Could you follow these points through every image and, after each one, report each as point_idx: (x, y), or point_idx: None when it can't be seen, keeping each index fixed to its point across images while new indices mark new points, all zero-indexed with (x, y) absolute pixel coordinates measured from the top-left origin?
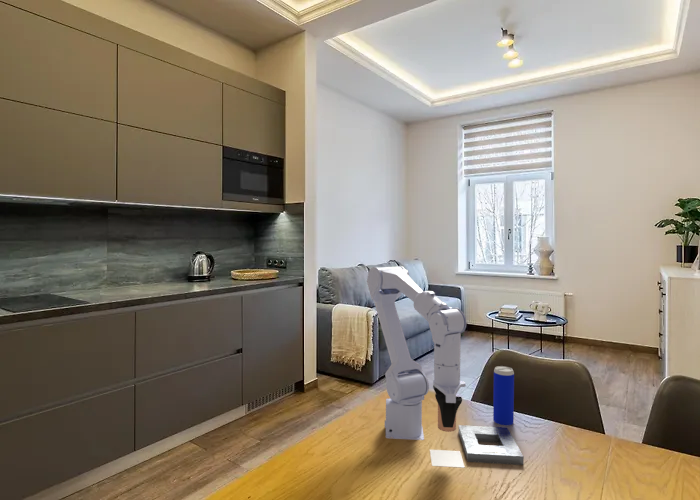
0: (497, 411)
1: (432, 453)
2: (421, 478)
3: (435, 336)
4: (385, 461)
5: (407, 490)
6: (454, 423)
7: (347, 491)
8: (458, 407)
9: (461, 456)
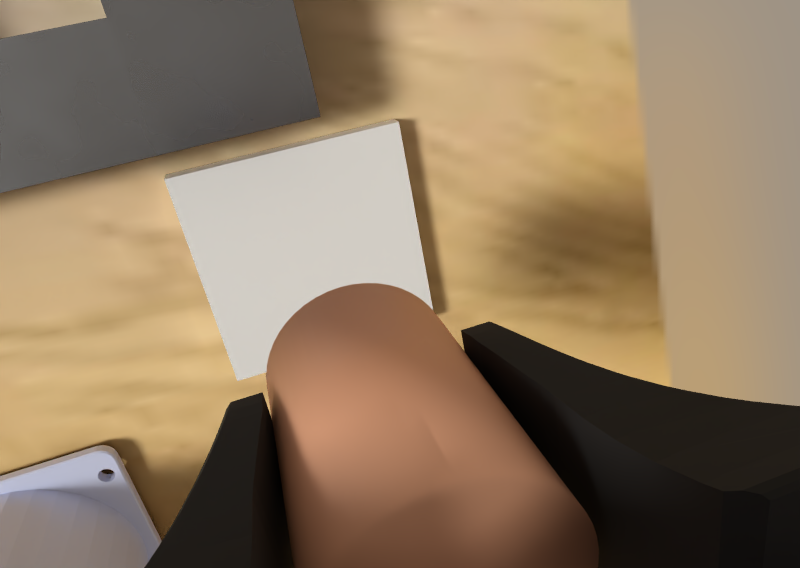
0: None
1: None
2: (538, 338)
3: None
4: None
5: (641, 367)
6: (427, 323)
7: None
8: (734, 399)
9: (249, 159)
